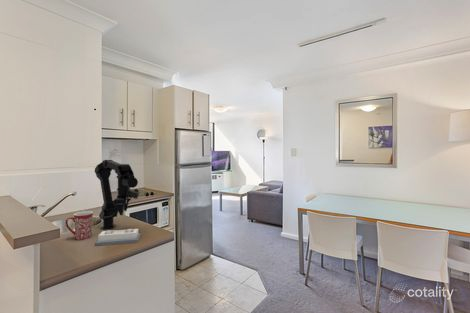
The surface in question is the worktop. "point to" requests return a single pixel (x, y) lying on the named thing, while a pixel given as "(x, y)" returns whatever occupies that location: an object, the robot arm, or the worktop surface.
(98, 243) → the peg board
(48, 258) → the worktop surface
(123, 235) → the power strip
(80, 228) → the mug
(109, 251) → the worktop surface
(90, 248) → the worktop surface
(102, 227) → the robot arm
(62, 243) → the worktop surface
